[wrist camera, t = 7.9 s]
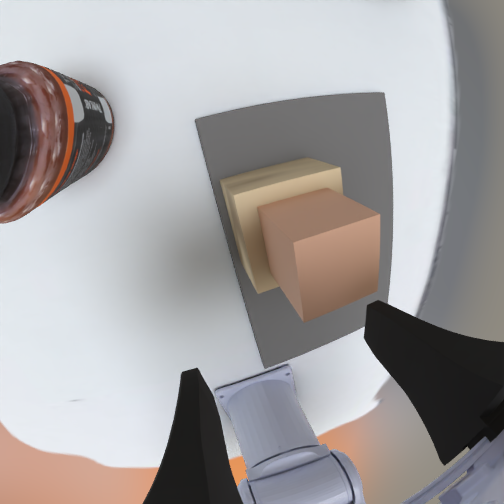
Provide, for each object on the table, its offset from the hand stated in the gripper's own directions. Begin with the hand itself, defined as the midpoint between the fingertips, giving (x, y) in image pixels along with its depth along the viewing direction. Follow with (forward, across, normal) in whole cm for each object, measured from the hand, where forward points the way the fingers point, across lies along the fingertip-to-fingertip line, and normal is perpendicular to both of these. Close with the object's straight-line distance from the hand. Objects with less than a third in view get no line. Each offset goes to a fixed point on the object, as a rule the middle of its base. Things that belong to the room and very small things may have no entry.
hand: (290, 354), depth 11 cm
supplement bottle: (+10, +8, -11) cm, 17 cm away
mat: (+10, -7, +2) cm, 12 cm away
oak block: (+10, -3, -2) cm, 11 cm away
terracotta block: (+6, -3, -2) cm, 7 cm away
